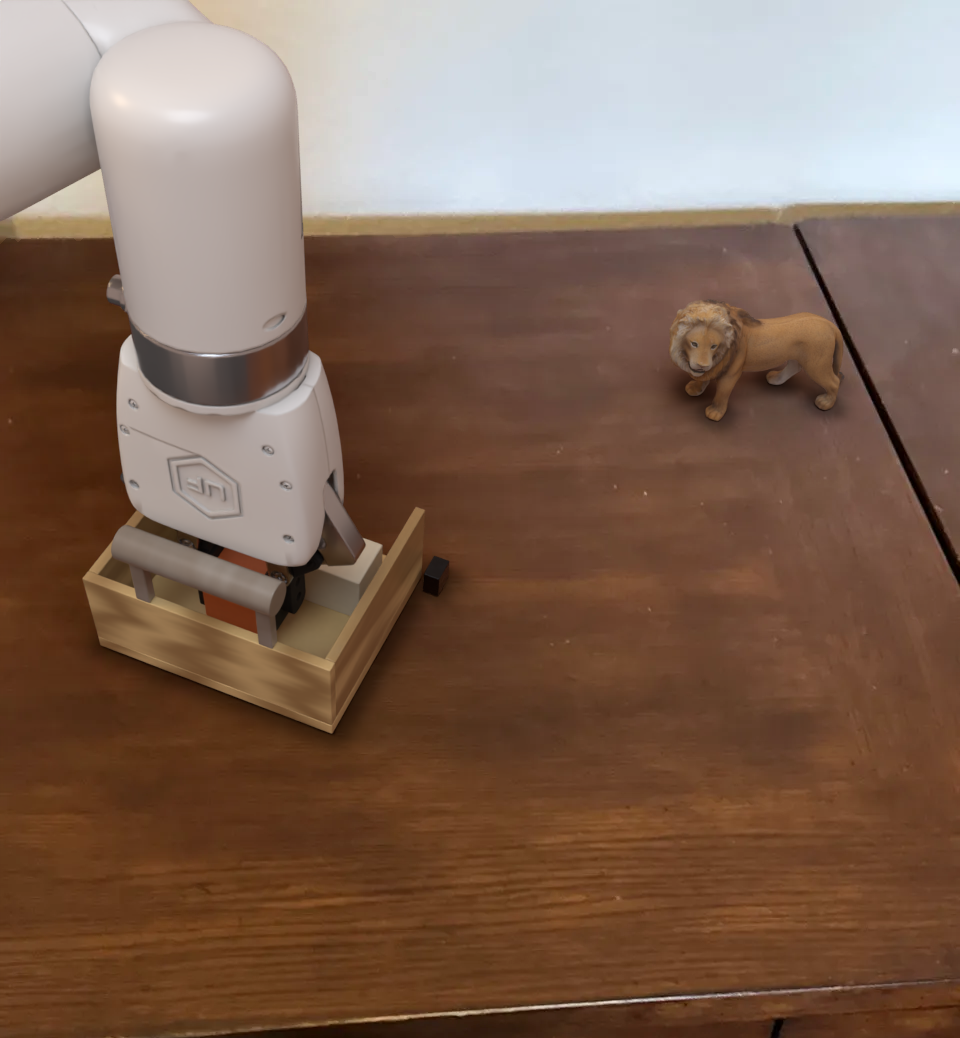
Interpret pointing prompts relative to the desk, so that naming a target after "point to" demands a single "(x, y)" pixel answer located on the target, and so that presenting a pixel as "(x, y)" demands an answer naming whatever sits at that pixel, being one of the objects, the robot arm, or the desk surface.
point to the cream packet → (344, 581)
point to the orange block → (228, 609)
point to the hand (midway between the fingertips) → (251, 597)
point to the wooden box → (233, 650)
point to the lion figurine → (753, 350)
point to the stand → (435, 576)
